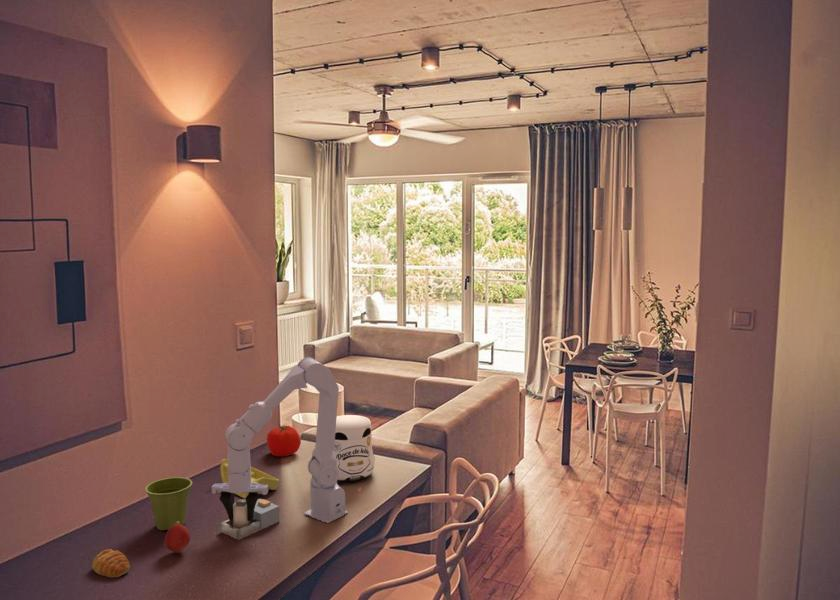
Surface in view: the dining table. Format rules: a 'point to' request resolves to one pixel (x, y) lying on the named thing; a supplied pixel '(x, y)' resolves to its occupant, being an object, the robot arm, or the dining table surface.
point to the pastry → (111, 563)
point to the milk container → (353, 447)
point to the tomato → (283, 441)
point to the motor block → (266, 512)
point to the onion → (177, 538)
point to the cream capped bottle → (240, 514)
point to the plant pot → (169, 501)
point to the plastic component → (255, 478)
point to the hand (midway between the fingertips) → (241, 519)
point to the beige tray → (242, 532)
